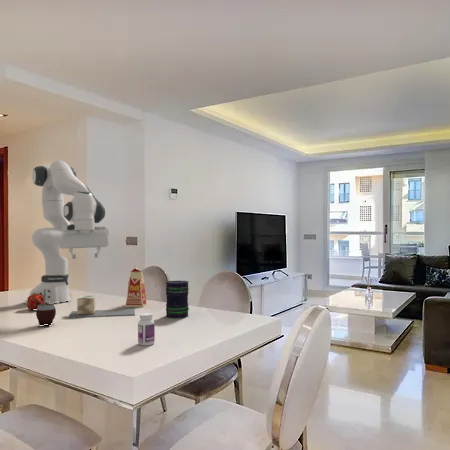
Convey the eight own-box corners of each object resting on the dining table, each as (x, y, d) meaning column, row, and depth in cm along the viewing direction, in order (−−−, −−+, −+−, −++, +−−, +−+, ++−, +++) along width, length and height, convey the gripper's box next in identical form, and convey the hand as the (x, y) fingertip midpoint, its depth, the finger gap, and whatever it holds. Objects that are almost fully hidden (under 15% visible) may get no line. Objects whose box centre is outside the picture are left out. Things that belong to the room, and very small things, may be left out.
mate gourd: (48, 323, 170) (48, 285, 170) (60, 325, 166) (61, 286, 166) (31, 326, 163) (31, 287, 164) (44, 328, 159) (44, 289, 160)
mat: (67, 318, 179) (67, 317, 179) (71, 312, 193) (71, 311, 193) (134, 315, 186) (134, 314, 186) (134, 309, 199) (134, 308, 199)
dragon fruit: (35, 310, 205) (40, 318, 195) (20, 302, 201) (24, 309, 191) (47, 296, 207) (52, 303, 197) (32, 287, 203) (36, 293, 193)
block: (77, 315, 184) (77, 298, 184) (79, 312, 190) (79, 296, 191) (94, 314, 185) (94, 297, 185) (95, 311, 192) (95, 295, 192)
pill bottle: (155, 341, 140) (155, 312, 141) (153, 345, 135) (153, 315, 135) (139, 341, 140) (139, 312, 140) (136, 346, 135) (136, 315, 135)
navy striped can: (184, 318, 178) (184, 283, 178) (162, 317, 180) (162, 282, 180) (191, 314, 188) (191, 280, 188) (170, 313, 190) (170, 280, 190)
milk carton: (143, 307, 207) (143, 266, 207) (124, 307, 207) (124, 266, 207) (147, 304, 216) (147, 264, 216) (129, 303, 216) (129, 264, 216)
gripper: (107, 227, 195) (108, 257, 194) (59, 228, 187) (60, 259, 185) (109, 225, 189) (110, 256, 188) (60, 226, 181) (61, 258, 179)
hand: (85, 258), depth 187 cm, fingers open, 8 cm apart
